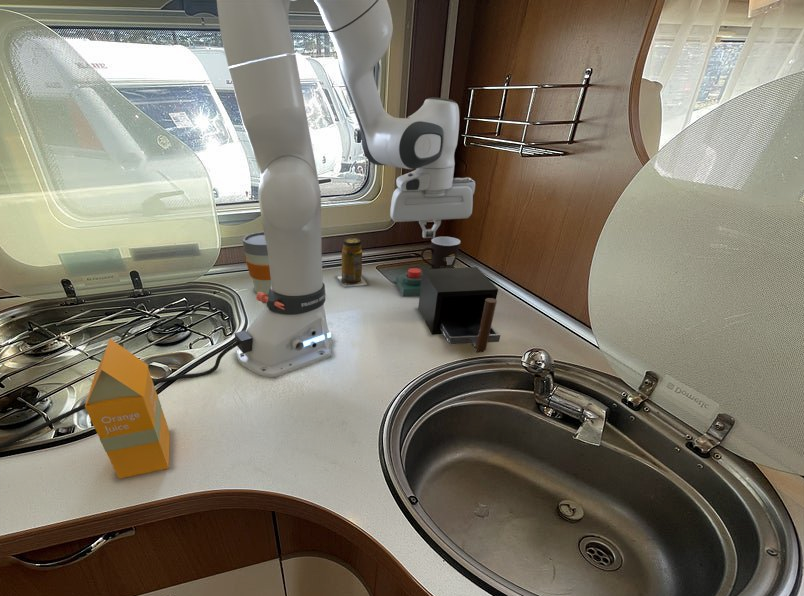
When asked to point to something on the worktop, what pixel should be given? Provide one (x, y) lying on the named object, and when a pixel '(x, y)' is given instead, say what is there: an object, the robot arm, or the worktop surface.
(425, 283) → the oven
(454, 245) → the coffee mug
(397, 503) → the worktop surface
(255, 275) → the reusable coffee cup
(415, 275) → the stop button
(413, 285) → the control box
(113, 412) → the orange juice
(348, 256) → the condiment
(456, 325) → the tray
